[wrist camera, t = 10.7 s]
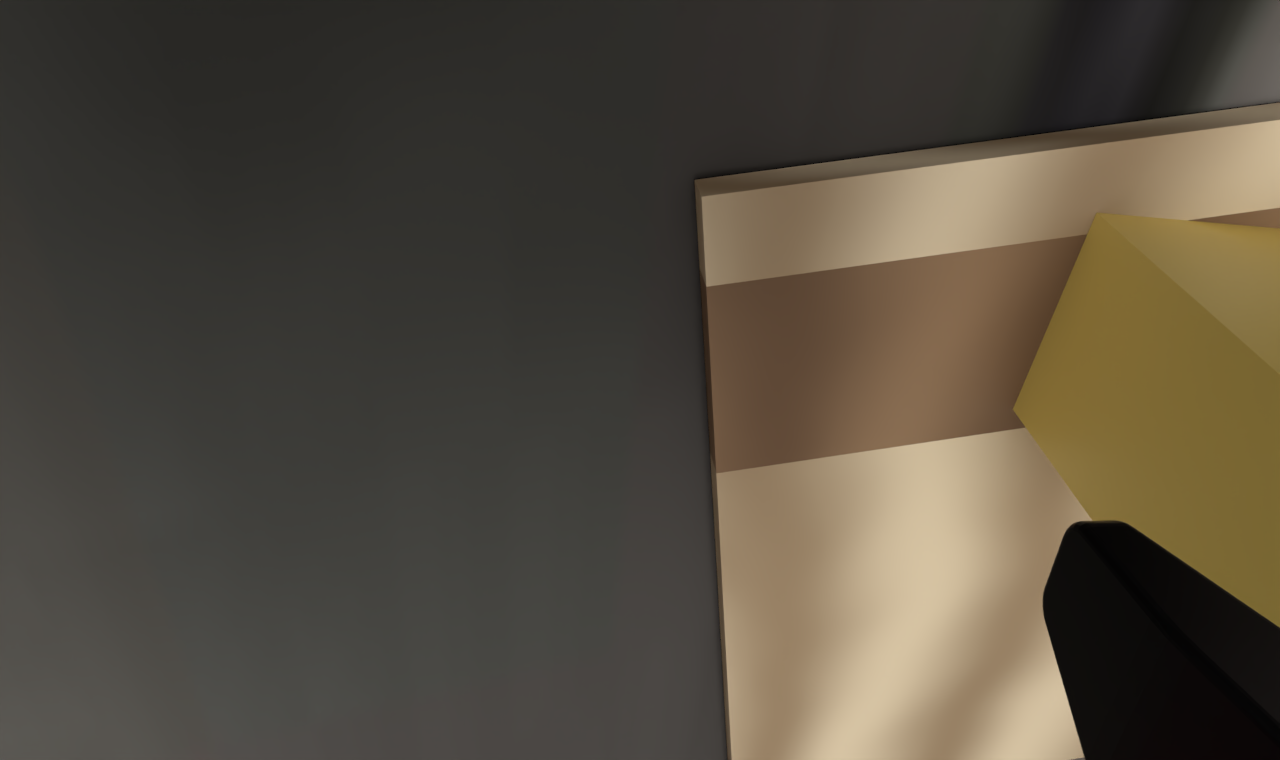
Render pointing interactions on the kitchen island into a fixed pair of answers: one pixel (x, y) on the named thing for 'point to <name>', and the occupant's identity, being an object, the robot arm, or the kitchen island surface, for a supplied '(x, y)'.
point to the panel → (914, 425)
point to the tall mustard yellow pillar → (1171, 392)
